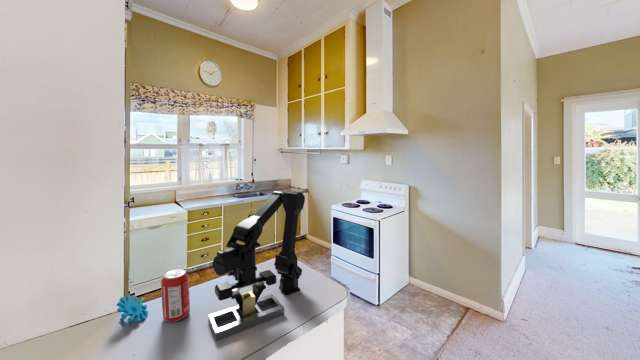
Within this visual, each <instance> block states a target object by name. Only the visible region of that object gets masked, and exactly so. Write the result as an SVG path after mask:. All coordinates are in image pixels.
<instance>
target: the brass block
mask: <svg viewBox="0 0 640 360" xmlns="http://www.w3.org/2000/svg"><path fill="white" fill-rule="evenodd" d="M240 294H241V295H242V311H240V309H239V312H240V313H241V316H242V319H244V318H246V317H249V316H252V315H255V296H254V294H253V291H252V290H249V291H246V292H242V293H240Z"/></svg>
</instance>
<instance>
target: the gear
mask: <svg viewBox="0 0 640 360" xmlns="http://www.w3.org/2000/svg"><path fill="white" fill-rule="evenodd" d="M131 298H132V299H131ZM137 300H138V301H137ZM144 300H145V299H144V297H141V298H140V299H139V298H138V297H137V296H136V295H135V296H133V297H132V295H126V296H122V297H120V298H119V301H118V302H117V303H116V306H117V307H118V308H117V309H116V311H117V313H122V314H121V315H120V316H121V317H120V318H119V321H120V322H123V321H124V320H126V318H127V317H128V319H127V321H128V323H129V322H130V323H132V322H133V321H134V323H140V322H141V321H144V320H145V319H146V318H147V315H148V313H149V311H148V310H146V309H148V306H147V304H145V305H144V304H143V303H144Z"/></svg>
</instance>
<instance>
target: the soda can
mask: <svg viewBox="0 0 640 360" xmlns="http://www.w3.org/2000/svg"><path fill="white" fill-rule="evenodd" d="M189 278H190V276H189V274H188V273H187V270H186V269H184V268H175V269H171V270H169V271H168V270H167V271H166V272H165V273H164V274H163V275H162V279H161V281H160V290H161V305H162V306H161V308H162V319H163V320H164V321H166V322H177V321H180V320H182V319H184V318H186V317H187V316H188V315H189V314H190V312H191V303H190V302H191V301H190V300H191V299H190V298H191V297H190V279H189Z"/></svg>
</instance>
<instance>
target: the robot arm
mask: <svg viewBox="0 0 640 360" xmlns="http://www.w3.org/2000/svg"><path fill="white" fill-rule="evenodd" d="M305 200H306V196H305V195H304V193H303V192H300V191H296V190H295V191H294V190H287V191H283V190H281V191H280V190H275V191H273V192H271V196H269V198H267V200H266V201H265V202H264V203H263V204H262V205H261V206H260V207H259V208H258V209H257V210H256V212H254V214H252V215H251V216H250V217H248V218H245V219H243V220H242V221H240V222H239V223H238V224H236V226H235V227H234V229H232V231H233V232H232V233H231V236H230V237H229V240H228V241H227V243H226V245H225V246H226V249H224V250H219V251H217V252H216V256H214V258H213V261H212V268H213V270H214V272H215V274H216V275H218V276H220V277H221V276H224V275H226V274H227V275H226V276H228V277H231V276H232V277H233V278H234V280H235V283H231V284H230V282H229V281H223V282H219V283H216V284H215V286H214V293H215V296H216V297H217V299H218V301H224V300H227V299H230V298H231V299H232V300H235V301H236V304H237V305H238V307H239V309H240V311H242V295H241V294H242V293H241V292H240V289H241V290H242V289H245V288H248V287H250V286H252V293H253V294H254V296H255V305H256V303H257V301H258V299H259V298H261V297H260V296H261V295H262V293H263V291H264V290H267V286H269V287H270V286H273V285H275V284H277V283H278V282H277V281H278V280H277V275H280V279H279V287H278V289H280V291H282V292H281V293H283V294H284V295H285V296H287V295H290V294H293V293H296V292H299V291H300V290H301V288H300V287H299V279H301V278H300V276H302V274H303V269H302V268H301V267H300V266H299V265H298V256H297V254H296V251H295V247H296V239H297V230H298V222H299V221H298V220H299V216H300V215H299V214H300V213H301V212H302V211H303V209H304V205H305V202H306V201H305ZM281 206H282V207H283V210H284V212H285V218H284V225H283V226H284V227H283V228H284V229H283V236H282V243H281V244H282V245H281V250H280V252H279V253H278V254H276V255H275V258H274V264H273V265H274V269H275V270H276V273H277V275H276V274H274V273H275V272H272V271H271V269H268V270H264V271H261V272H259V273H258V275H257V271H258V267H257V266H256V265H257V264H256V263H257V262H256V261H257V259H256V255H257V254H256V253H257V252H256V248H260V247H261V243H259V242H258V240H259V239H260V236H261V235H262V233H263V228H264V226H265V224H266V223H267V222H268V221H269V220H270V219H271V217H272V216H273V215H274V214H275V213H276V211H278V209H279V208H280V207H281ZM238 242H240V243H238ZM241 243H242V244H241ZM236 281H237V282H236ZM266 285H267V286H266ZM237 305H236V306H237Z"/></svg>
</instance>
